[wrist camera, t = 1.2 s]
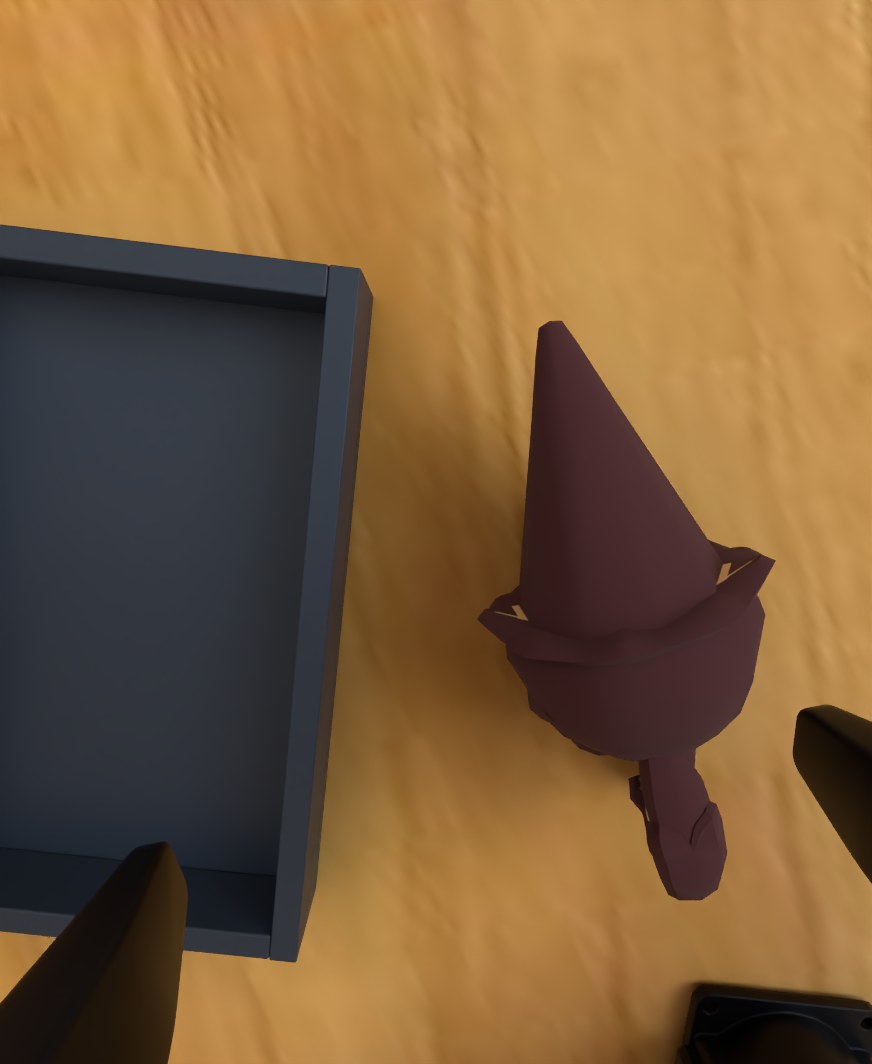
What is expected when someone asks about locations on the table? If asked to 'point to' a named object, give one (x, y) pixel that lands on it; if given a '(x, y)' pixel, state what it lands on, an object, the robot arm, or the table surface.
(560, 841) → the table surface
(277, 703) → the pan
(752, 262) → the table surface
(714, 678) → the icecream
